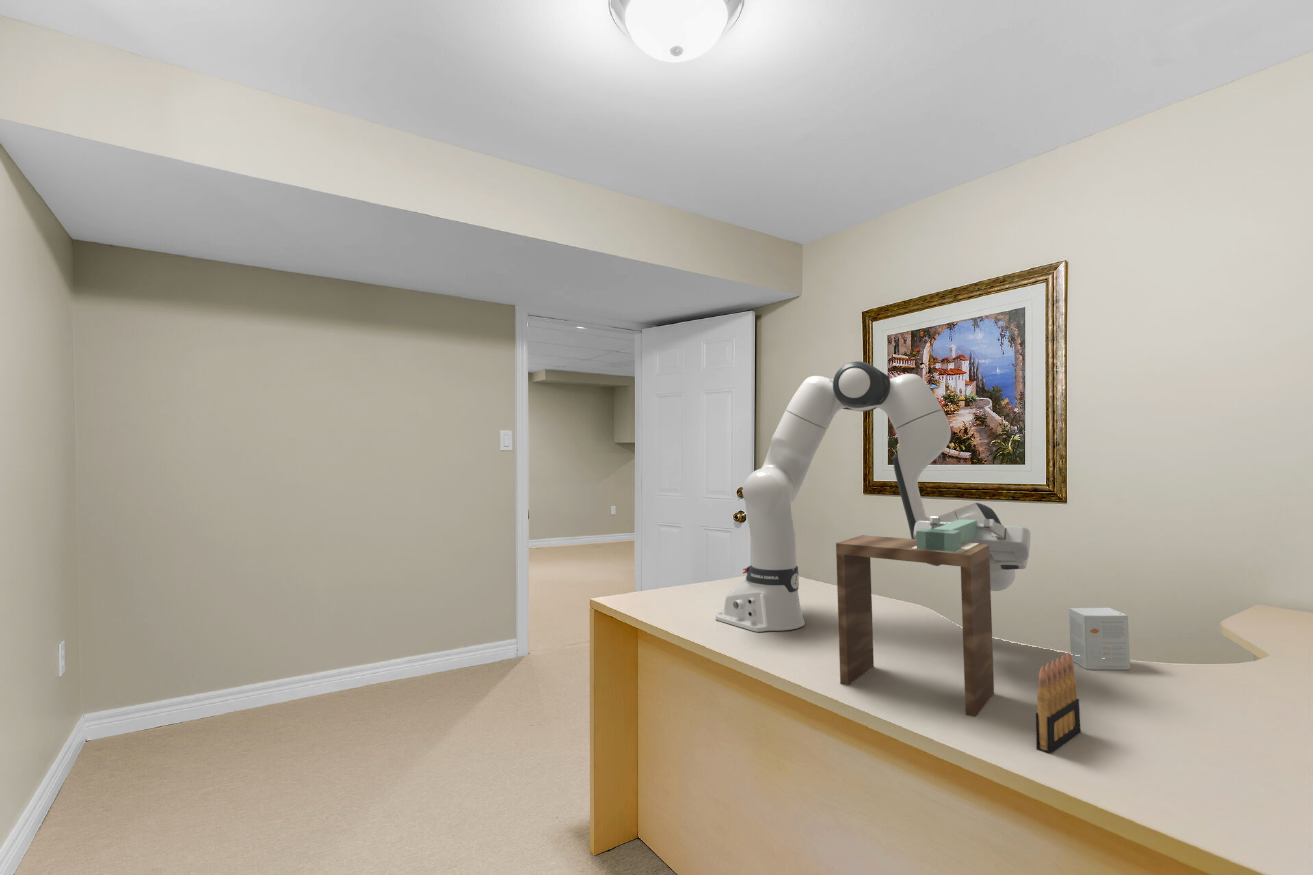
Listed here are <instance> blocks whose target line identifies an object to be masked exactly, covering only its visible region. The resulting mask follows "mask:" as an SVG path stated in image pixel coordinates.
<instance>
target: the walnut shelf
mask: <svg viewBox="0 0 1313 875" xmlns="http://www.w3.org/2000/svg"><path fill="white" fill-rule="evenodd" d="M835 549H836V550H835V552H836V553H835V554H836V558H835V559H836V580H837V581H836V585H837V615H838V616H837V617H838V618H837V619H838V620H837V621H838V648H839V650H838V654H839V678H840V679H839V681H840V682H839V683H840V684H841V685H845V686H849V685H851V684H852V683H854V682H855V681H857V679H859V678H861V677H862V676H863V675H865V674H866V673H868V672H869V671H870V670H872V669H873V668H875V666H874V664H875V663H874V658H875V657H874V637H873V636H874V630H873V604H872V602H873V601H872V600H873V599H872V573H871V572H872V571H871V570H872V569H871V558H873V559H883V560H892V561H903V562H911V563H912V562H913V563H923V564H927V563H931V564H941V565H940V566H943V565H944V566H951V567H952V566H953V567H960V585H961V586H960V587H961V588H960V589H961V590H960V591H961V592H960V593H961V613H962V614H961V616H962V618H961V619H962V645H963V646H962V647H963V670H964V671H963V673H964V706H965V707H964V708H965V715H966V716H970V717H975V718H976V717H977V716H978V715H979V713H980V712H981V711H982V710H983V708H984V707H985V706H986V704H987V703H988V702H989V701H990V699H991V698H992V696H994V694H995V683H994V682H995V679H994V654H993V653H994V652H993V646H994V645H993V624H992V623H993V619H992V616H993V615H992V594H991V592H992V591H991V587H990V559H989V545H984V544H979V543H967V542H963V543H961V549H959V550H957V551H955V552H951V551H939V550H928V549H917V539H911V538H903V537H893V536H892V537H890V536H880V535H879V536H878V535H865V534H863V535H858V536H856V537H852V538H849V539H845V540H842V541H839V542H836V543H835Z"/></svg>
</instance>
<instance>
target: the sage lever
mask: <svg viewBox="0 0 1313 875" xmlns="http://www.w3.org/2000/svg"><path fill="white" fill-rule="evenodd" d="M976 524H977V520H964V519H960V520H957V521H954V522H951V523H948V524H945V525H943V526H940V527H937V528H934V529H927V528H924V529H921V530H918V531H916V538H917V549H928V550H939V551H951V552H955V551H957V550H959V549H961V543H963V542H965V541H968V540H970V539H972V538H974V537H976V533H977V527H976Z"/></svg>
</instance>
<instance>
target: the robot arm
mask: <svg viewBox="0 0 1313 875" xmlns="http://www.w3.org/2000/svg"><path fill="white" fill-rule="evenodd" d="M876 409H880V410H882V411H883V412H884V413H885V414H886V415H887V417H888V419H889V421H890V422H891V425H892V428H893V429H894V431H895V434H896V437H897V442H898V448H897V452H896V453H895V454H894V456H893V469H894V473H895V474H894V476H895V478H896V482H897V487H898V490H899V494H900V498H901V502H902V505H903V510H904V513H905V516H906V520H907V524H908V528H909V529H908V530H909V533H910V539H917V538H916V531H918V530H921V529H924V528H927V529H934V528H937V527H940V526H943V525H945V524H948V523H951V522H954V521H957V520H960V519H964V520H977V524H976V527H977V533H976V537H974V538H972V539H970V540H968V541H965V542H967V543H979V544H984V545H989V559H990V587H991V592H1000V591H1004V590H1006V589H1007V588H1009V587H1010V586H1011V585H1012V584H1013V583H1014V582H1015V579H1016V570H1024V569H1026V568H1027V564H1028V559H1029V557H1030V549H1031V548H1030V547H1031V531H1030V529H1029V528H1027V527H1026V526H1022V525H1021V526H1020V525H1004V524H1002V522H1001V520H1000V518H999V517H998V515H997V513H996V512H995V511H994V510H993V508H991V507H989V506H988V505H985V504H983V503H980V502H979V503H978V502H974V503H970V504H967V505H965V506H962V507H959V508H956V509H954V510H952V511H949V512H946V513H944V514H940V515H939V516H937V515H936V516H935V515H931V516H929V517H927V516H926V511H925V508H924V504H923V500H922V497H921V494H920V489H919V484H918V482H919V478H920V475H922V472H924V470H925V469H926V468H927V467H928V466H929V465H931V463H932V462H934V460H936V459H937V458H938V457H939V456H940V455H941V454H942V453H943V452H944V451H945V449H946V448H947V446H948V445H949V443H950V440H951V438H952V437H951V436H952V430H951V428H952V427H951V426H950V423H949V420H948V418H947V416H946V413H945V411H944V410H943V408H942V405H941V404H940V402H939V400H938V399H937V397H936V395H935V394H934V392H933V391H932V390H931V388H930V387H929V385H928V384H927V383H926V382H925V380H924V379H923V378H922V377H921V376H919V375H918V374H915V373H904V374H900V375H897V376H895V377H892V378H891V377H890V376H889V375H888V374H886V373H884V372H883V371H881V370H880V369H879V368H877V367H875V366H874V365H872V364H870V363H868V362H866V361H851V362H848V363H846V364H844V365H842V366H841V367H840V368H839V369H838V370H837V371H836V373H835V375H834V376H833V378H832V379H831V378H828V377H826V376H822V375H812V376H811V375H810V376H808V377H807V378H806V379H804V380H803V382H802V383H801V384H800V386H799V387H798V389H797V390H796V392H794V395H793V396H792V398H791V399H790V401H789V403H788V404H787V407H786V409H785V410H784V413H783V415H782V417H781V419H780V421H779V423H778V425H777V427H776V430H775V431H774V433H773V435H772V437H771V441H770V444H769V448H768V451H767V453H766V457H765V459H764V462H763V464H762V466H761V468H758V469H756V470H754V471H753V472H751V473H750V474H749V475H748V476H747V478H746V480H745V481H744V484H743V487H742V497H743V500H744V502H745V503H744V504H745V509H746V510H745V511H746V516H747V522H748V527H749V528H748V529H749V531H750V532H749V533H750V550H751V551H750V554H751V555H750V557H751V560H750V561H751V564H750V565H749V566H747V567H746V568H743V569H742V571H743V572H742V574H746V576H745V580H744V581H742V582H741V583H739V584H738V585H737V586H736V587H735V588H733V589H732V590H730V592H728V593H727V594H726V597H725V602H724V609H722V610H720V611H718V612H717V613H716V614H715V620H716V621H719V622H722V623H726V624H729V625H732V626H736V627H740V628H742V629H746V630H749V631H752V632H756V633H758V632H761V633H762V632H768V631H770V632H772V631H775V632H776V631H790V630H796V629H799V628H802V627H804V626H805V624H806V622H805V620H804V616H803V613H802V612H803V611H802V607H801V601H800V596H799V587H800V586H799V585H800V582H799V580H800V577H799V566H798V565H797V544H796V543H797V542H796V540H797V538H796V532H795V528H794V522H793V515H792V507H791V504H792V503H793V502H795V499H796V497H797V496H798V493H799V491H800V489H801V486H802V484H803V482H804V480H805V477H806V476H807V472H808V470H809V468H810V465H811V463H812V460H813V458H814V457H815V454H816V453H817V451H818V448H819V446H820V445H821V442H822V441H823V438H824V436H825V434H826V432H827V430H828V428H829V427H830V424H831V422H832V421H833V418H834V417H835V416H836V414H837V413H838V412H839V411H841V410H847V411H855V412H871V411H875V410H876ZM926 564H927V565H931V566H935V567H940V566H942V565H941V564H931V563H926Z"/></svg>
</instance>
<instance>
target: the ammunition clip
mask: <svg viewBox="0 0 1313 875" xmlns="http://www.w3.org/2000/svg"><path fill="white" fill-rule="evenodd" d="M1037 688H1038V691H1037V697H1036V698H1037V711H1036V713H1035V738H1036V739H1035V742H1036V743H1035V744H1036V746H1035V747H1036V750H1038V751H1042V752H1044V753H1048V754H1050V755H1051V754H1053V753H1054V752H1055V751H1057V750H1059V749H1060V748H1062V746H1064V745H1065V744H1067V743H1068V742H1070V741H1071V740H1073V739H1074V738H1075V737H1077V736H1078V735H1079V734H1080V733H1082V731H1081V714H1080V710H1081V709H1080V699H1079V698H1077V696H1078V695H1077V694H1078V693H1077V681H1076V677H1075V669H1074V661H1073V660H1072V657H1071V652H1067V653H1066V655H1064V654H1063V655H1062V656H1061V657H1057V658H1056V660H1055V659H1054V660H1053V659H1052V661H1051V663H1049V662H1047V663H1046V665H1045V666H1044V665H1041V667H1040V669H1039V674H1038V687H1037Z"/></svg>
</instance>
